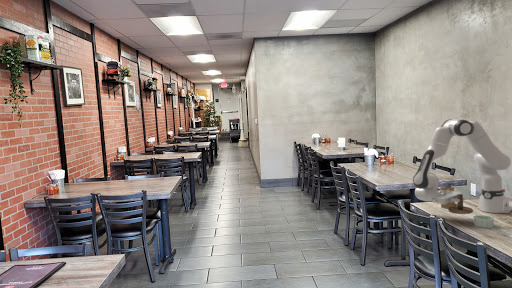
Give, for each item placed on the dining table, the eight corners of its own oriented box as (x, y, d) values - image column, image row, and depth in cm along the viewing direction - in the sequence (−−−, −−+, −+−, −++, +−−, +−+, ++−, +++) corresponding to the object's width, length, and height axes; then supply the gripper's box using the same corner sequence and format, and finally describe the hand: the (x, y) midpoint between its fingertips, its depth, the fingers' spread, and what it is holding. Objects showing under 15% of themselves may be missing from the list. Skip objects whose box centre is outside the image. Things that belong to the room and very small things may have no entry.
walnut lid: (455, 206, 226) (455, 191, 225) (477, 210, 214) (476, 194, 214) (444, 211, 219) (443, 195, 218) (465, 215, 208) (464, 198, 207)
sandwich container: (454, 203, 259) (454, 183, 258) (454, 208, 246) (454, 187, 245) (441, 202, 264) (440, 182, 262) (441, 207, 250) (440, 186, 249)
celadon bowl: (479, 221, 215) (478, 214, 215) (497, 225, 207) (497, 217, 206) (470, 224, 210) (470, 217, 210) (488, 228, 202) (488, 221, 201)
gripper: (429, 194, 222) (451, 198, 210) (448, 188, 232) (470, 191, 220) (430, 204, 222) (452, 208, 210) (448, 198, 233) (470, 201, 221)
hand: (461, 199), depth 215 cm, fingers closed on walnut lid, 3 cm apart
